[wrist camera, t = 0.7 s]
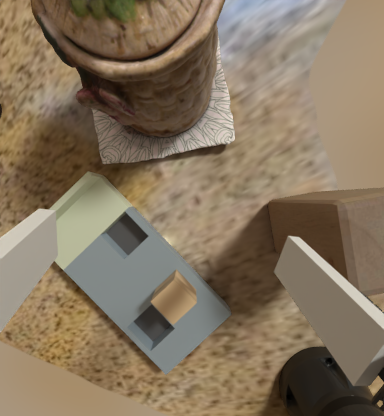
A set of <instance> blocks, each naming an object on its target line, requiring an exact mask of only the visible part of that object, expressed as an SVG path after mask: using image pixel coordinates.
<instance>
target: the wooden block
mask: <svg viewBox="0 0 384 416" xmlns="http://www.w3.org/2000/svg"><path fill="white" fill-rule="evenodd" d="M268 210H269V216H270V222H271V228H272V234H273V240H274V246H275V250H276V251H277V253H279V254H280V255H281V253H282V250H283V248H284V245H285V242H286V240H287V237H288V236H294V237H300V238H301V239H302V240H303V241H304V242H305V243H306V244H307V245H308V246H310V247H311V248H312V249H313V250H314V251H315V252H316V253H317V254H318V255H320V256H321V257H322V258H323V259H324V260H325V261H326V262H327V263H328V264H329V265H331V266H332V267H333V268H334V269H335V270H336V271H337V272H338V273H339V274H340V275H342V276H343V277H344V278H345V279H346V280H347V281H348V282H349V283H350V284H351V285H353V286H354V287H355V288H356V289H357V290H358V291H360V292H361V293H363V294H364V295H365V296H370V295H375V294H381V293H384V188H370V189H355V190H338V191H322V192H312V193H307V194H301V195H296V196H290V197H285V198H279V199H274V200H271V201H270V202H269V203H268Z"/></svg>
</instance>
